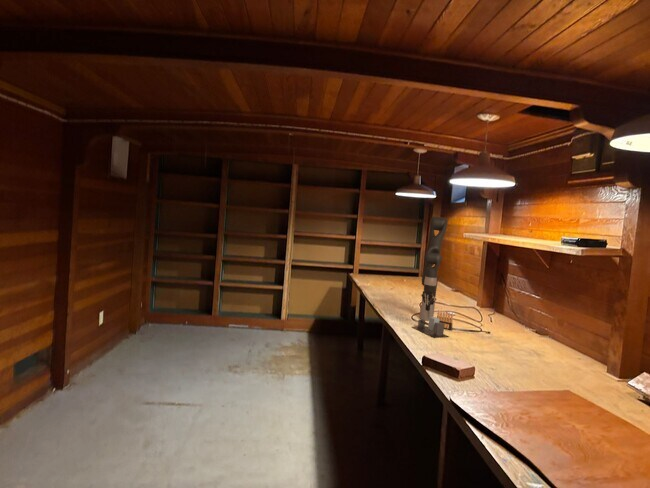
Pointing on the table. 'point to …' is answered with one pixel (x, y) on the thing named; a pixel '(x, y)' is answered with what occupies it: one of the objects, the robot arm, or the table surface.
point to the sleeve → (432, 322)
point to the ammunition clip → (446, 322)
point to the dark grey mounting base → (434, 334)
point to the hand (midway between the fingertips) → (427, 310)
